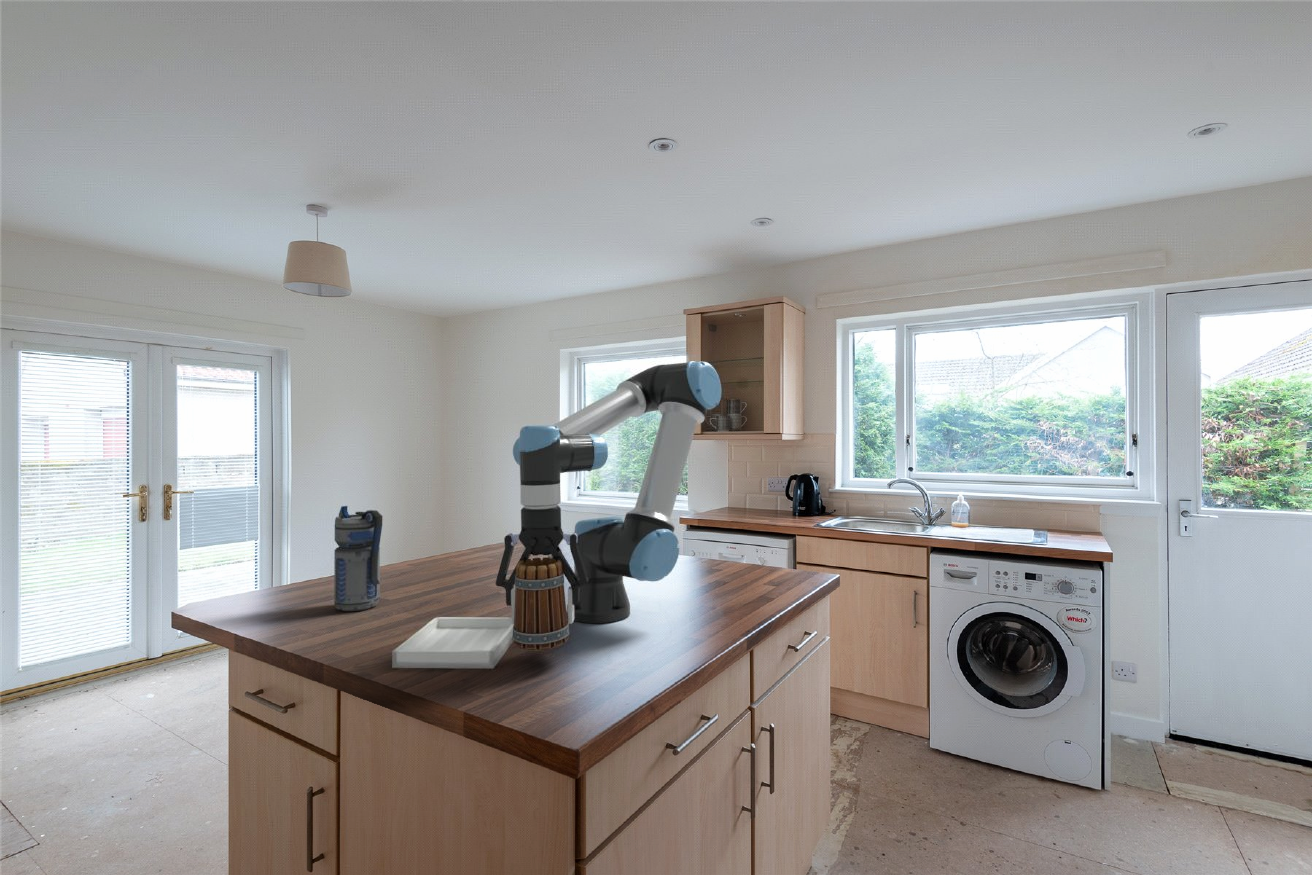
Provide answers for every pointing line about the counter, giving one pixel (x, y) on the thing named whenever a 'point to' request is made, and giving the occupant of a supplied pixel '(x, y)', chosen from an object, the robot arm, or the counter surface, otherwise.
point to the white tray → (456, 643)
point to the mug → (540, 605)
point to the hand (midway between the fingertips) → (543, 621)
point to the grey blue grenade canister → (357, 560)
